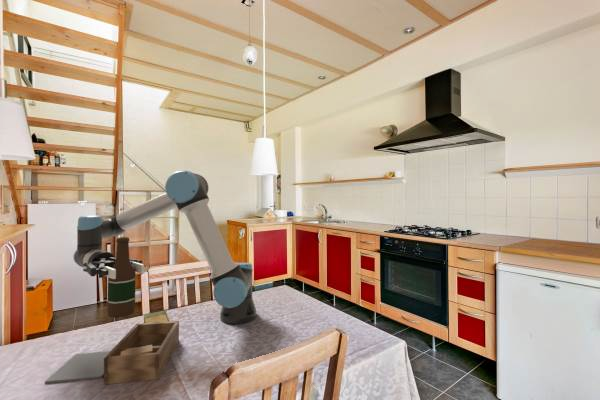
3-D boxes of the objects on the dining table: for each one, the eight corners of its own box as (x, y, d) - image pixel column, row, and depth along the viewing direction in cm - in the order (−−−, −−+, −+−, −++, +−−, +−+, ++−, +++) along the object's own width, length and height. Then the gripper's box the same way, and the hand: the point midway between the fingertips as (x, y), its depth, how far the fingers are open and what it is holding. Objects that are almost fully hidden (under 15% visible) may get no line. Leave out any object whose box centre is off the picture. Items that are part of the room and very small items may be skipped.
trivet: (123, 352, 94) (123, 350, 94) (101, 378, 80) (101, 376, 80) (76, 355, 91) (76, 353, 91) (44, 383, 77) (44, 381, 77)
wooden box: (178, 340, 101) (178, 321, 101) (158, 379, 80) (158, 354, 80) (136, 343, 99) (136, 323, 99) (103, 384, 77) (103, 358, 77)
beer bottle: (115, 308, 94) (117, 236, 94) (140, 308, 94) (141, 236, 94) (101, 318, 86) (102, 239, 86) (127, 318, 87) (129, 239, 87)
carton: (145, 340, 102) (145, 328, 102) (143, 324, 116) (143, 313, 116) (170, 334, 106) (170, 323, 106) (166, 319, 120) (165, 309, 120)
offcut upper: (151, 354, 87) (151, 344, 87) (152, 360, 83) (152, 350, 83) (120, 361, 83) (120, 351, 83) (120, 368, 79) (120, 358, 79)
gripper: (130, 266, 109) (161, 276, 95) (63, 277, 92) (89, 292, 79) (130, 247, 109) (161, 254, 96) (63, 254, 92) (90, 265, 79)
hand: (129, 271), depth 87 cm, fingers closed on beer bottle, 7 cm apart
